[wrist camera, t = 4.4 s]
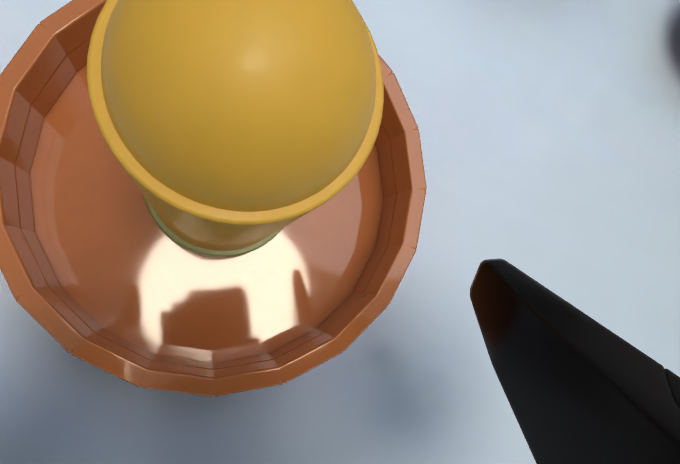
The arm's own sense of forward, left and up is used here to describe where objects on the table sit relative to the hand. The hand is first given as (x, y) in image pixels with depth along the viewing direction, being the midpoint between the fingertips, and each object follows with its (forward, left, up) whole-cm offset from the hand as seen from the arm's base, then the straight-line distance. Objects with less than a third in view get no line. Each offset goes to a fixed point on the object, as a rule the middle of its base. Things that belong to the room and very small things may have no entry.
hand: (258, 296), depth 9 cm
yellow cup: (+4, +1, -11) cm, 11 cm away
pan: (+4, +1, -11) cm, 12 cm away
